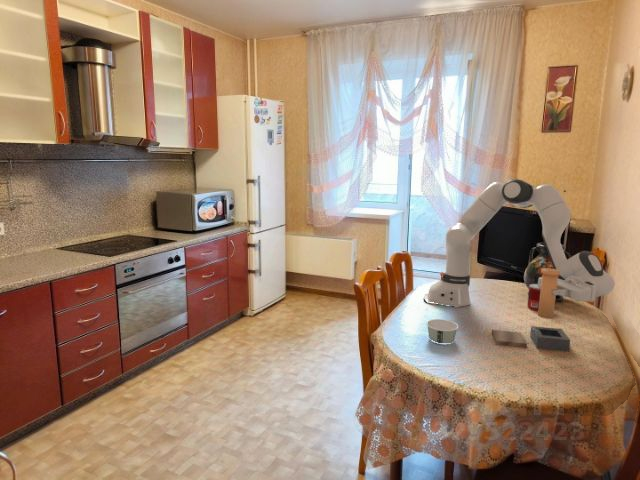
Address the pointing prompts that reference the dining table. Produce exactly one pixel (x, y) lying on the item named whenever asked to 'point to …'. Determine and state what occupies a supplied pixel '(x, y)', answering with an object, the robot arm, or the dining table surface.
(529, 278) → the amphora vase
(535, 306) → the canned food
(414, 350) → the dining table surface
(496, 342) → the walnut board
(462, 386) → the dining table surface
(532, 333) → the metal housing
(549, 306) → the tan peg
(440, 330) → the food container
